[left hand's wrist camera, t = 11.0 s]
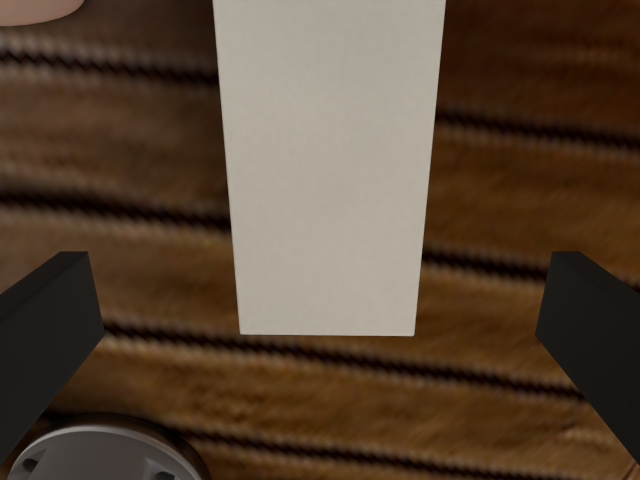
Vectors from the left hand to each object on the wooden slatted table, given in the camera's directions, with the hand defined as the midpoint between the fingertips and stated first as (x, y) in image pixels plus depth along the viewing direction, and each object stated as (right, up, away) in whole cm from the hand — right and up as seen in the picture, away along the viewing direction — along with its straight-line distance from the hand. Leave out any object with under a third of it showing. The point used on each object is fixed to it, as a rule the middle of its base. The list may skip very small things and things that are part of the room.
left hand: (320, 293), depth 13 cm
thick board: (0, +23, +6) cm, 24 cm away
